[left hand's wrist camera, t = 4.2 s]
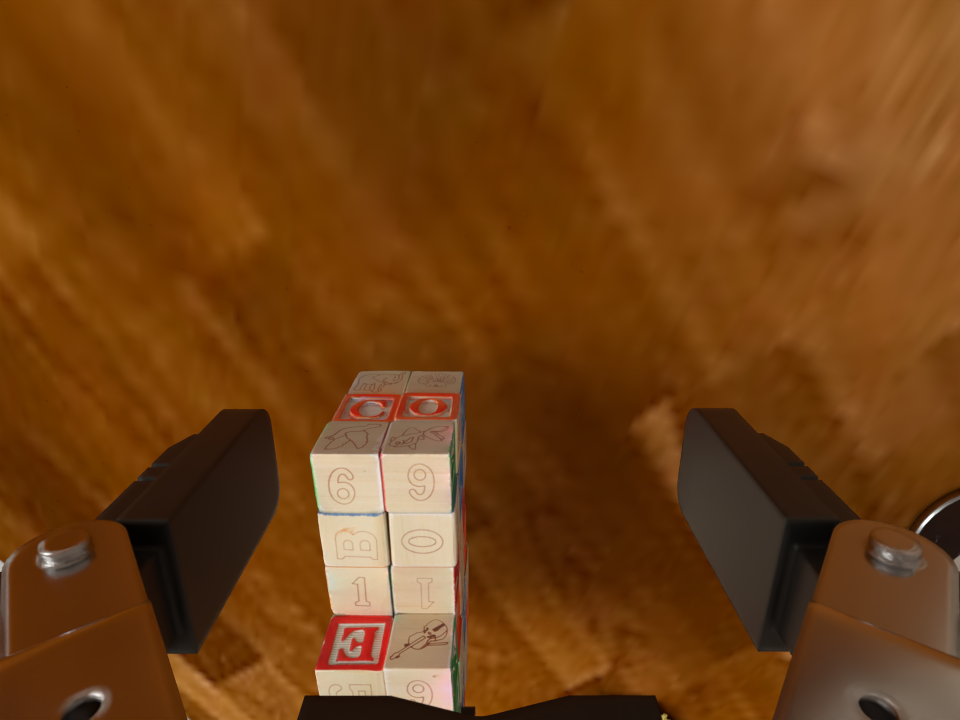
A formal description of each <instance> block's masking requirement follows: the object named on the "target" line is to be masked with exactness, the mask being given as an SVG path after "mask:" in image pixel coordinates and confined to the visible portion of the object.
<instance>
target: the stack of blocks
mask: <svg viewBox="0 0 960 720" xmlns="http://www.w3.org/2000/svg"><path fill="white" fill-rule="evenodd" d="M310 462H311V468H312V475H313V481H314V487H315V495H316V500H317V506H318V509H319V512H318V522H319V529H320V536H321V542H322V548H323V555H324V562H325V565H326V567H325V574H326V579H327V586H328V591H329V597H330V603H331V608H332V610H333V612H334V615H333V616H332V618H331V621H330V624H329V627H328V630H327V634H326V637H325V640H324V643H323V645H322V649H321V652H320V656H319V659H318V661H317V665H316V668H315V672H316V678H317V684H318V689H319V694H320V696H395V697H399V698H403V699H407V700H411V701H415V702H419V703H423V704H427V705H431V706H435V707H439V708H443V709H447V710H451V711H455V712H459V713H462V708H463V707H465V683H466V681H467V656H468V617H469V594H468V544H467V543H466V506H465V485H464V482H465V471H466V421H465V394H464V372H450V371H436V372H426V371H415V372H411V371H364V372H359V374H358V375H357V377H356V379H355V380H354V382H353V384H352V386H351V388H350V390H349V392H348V394H346V395H345V397H344V399H343V401H342V402H341V404H340V406H339V408H338V410H337V411H336V413H335V415H334V417H333V419H332V422H329V423H328V424H327V425H326V427H325V428H324V430H323V432H322V434H321V435H320V437H319V439H318V441H317V443H316V444H315V446H314V448H313V450H312V452H311V454H310Z"/></svg>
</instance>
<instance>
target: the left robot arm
mask: <svg viewBox="0 0 960 720" xmlns="http://www.w3.org/2000/svg"><path fill="white" fill-rule="evenodd" d="M677 489H678V500H679V505H680V508H681V511H682V513H683V515H684V517H685V519H686V521H687V523H688V525H689V526H690V528H691V530H692V532H693V534H694V535H695V537H696V539H697V541H698V543H699V545H700V546H701V548H702V550H703V552H704V554H705V556H706V557H707V559H708V561H709V563H710V565H711V567H712V568H713V570H714V572H715V574H716V576H717V578H718V579H719V581H720V583H721V585H722V587H723V588H724V590H725V592H726V594H727V596H728V598H729V599H730V601H731V603H732V605H733V607H734V609H735V610H736V612H737V614H738V616H739V618H740V620H741V621H742V623H743V625H744V627H745V629H746V631H747V632H748V634H749V636H750V638H751V640H752V641H753V643H754V645H755V647H756V649H757V651H789V652H790V653H791V655H792V658H791V662H790V665H789V668H788V671H787V675H786V678H785V681H784V684H783V687H782V691H781V694H780V697H779V700H778V704H777V707H776V710H775V713H774V717H773V720H960V571H958V568H957V566H956V564H955V562H954V561H953V559H952V558H951V557H950V556H949V555H948V554H947V553H946V552H945V551H944V550H943V549H941V548H940V547H939V546H937V545H936V544H935V543H933V542H931V541H930V540H928V539H926V538H925V537H923V536H921V535H919V534H917V533H914V532H912V531H910V530H907V529H905V528H902V527H899V526H896V525H892V524H889V523H885V522H880V521H873V520H861V519H860V518H859V517H858V516H857V515H856V514H855V513H854V512H853V511H852V510H851V509H850V508H849V507H848V506H847V505H846V504H845V503H844V502H843V501H842V500H841V499H840V498H839V497H838V496H837V495H836V494H835V493H834V492H833V491H832V490H831V489H830V488H829V487H828V486H827V485H826V484H825V483H824V482H823V481H822V480H818V476H817V475H816V474H815V473H814V472H813V471H812V470H811V469H810V468H809V467H808V466H804V462H803V461H801V460H800V459H799V458H798V457H797V456H796V455H795V454H794V453H793V452H792V451H791V450H790V449H789V448H788V447H787V446H785V445H783V444H781V443H779V442H778V441H776V440H774V439H772V438H770V437H768V436H767V435H765V434H758V433H757V432H756V431H755V430H754V429H753V428H752V427H751V426H750V425H749V424H748V423H747V422H746V421H745V419H744V418H743V417H742V416H741V415H740V414H739V413H738V412H737V411H736V410H735V409H732V408H693V409H691V410H690V411H689V413H688V415H687V418H686V423H685V431H684V438H683V445H682V453H681V460H680V467H679V474H678V484H677ZM279 490H280V486H279V476H278V468H277V461H276V454H275V447H274V440H273V433H272V426H271V420H270V416H269V414H268V412H267V411H266V410H264V409H224V410H222V411H221V412H220V413H219V414H218V415H217V416H216V417H215V418H214V419H213V420H212V421H211V422H210V423H209V424H208V425H207V426H206V427H205V428H204V429H203V430H202V431H201V432H200V433H199V434H193V435H191V436H190V437H188V438H186V439H184V440H182V441H180V442H179V443H177V444H175V445H173V446H171V447H169V448H168V449H167V450H166V451H165V452H164V453H163V454H162V455H161V456H160V457H159V458H158V459H157V460H156V461H155V462H154V463H153V464H152V467H151V468H147V469H146V470H145V471H144V472H143V473H142V474H141V475H140V476H139V477H138V481H134V482H133V483H132V484H131V485H130V486H129V487H128V488H127V489H126V490H125V491H124V492H123V493H122V494H121V495H120V496H119V497H118V498H117V499H116V500H115V501H114V502H113V503H112V504H111V505H110V506H109V507H107V508H106V509H105V510H104V511H103V512H102V513H101V514H100V515H99V516H98V517H97V518H96V519H95V520H87V521H80V522H75V523H71V524H68V525H64V526H61V527H58V528H55V529H53V530H50V531H48V532H46V533H43V534H41V535H39V536H37V537H35V538H34V539H32V540H30V541H29V542H27V543H25V544H24V545H23V546H21V547H20V548H19V549H17V550H16V551H15V552H14V553H13V554H12V555H11V556H10V557H9V558H8V559H7V561H6V562H5V564H4V566H3V568H2V572H0V720H187V717H186V713H185V710H184V707H183V704H182V700H181V697H180V694H179V691H178V687H177V684H176V681H175V678H174V675H173V671H172V668H171V665H170V662H169V658H168V655H167V654H197V653H198V652H199V650H200V648H201V646H202V644H203V643H204V641H205V639H206V637H207V635H208V634H209V632H210V630H211V628H212V626H213V625H214V623H215V621H216V619H217V617H218V616H219V614H220V612H221V610H222V608H223V607H224V605H225V603H226V601H227V599H228V598H229V596H230V594H231V592H232V590H233V588H234V587H235V585H236V583H237V581H238V579H239V578H240V576H241V574H242V572H243V570H244V569H245V567H246V565H247V563H248V561H249V560H250V558H251V556H252V554H253V552H254V551H255V549H256V547H257V545H258V543H259V542H260V540H261V538H262V536H263V534H264V533H265V531H266V529H267V527H268V525H269V523H270V522H271V520H272V518H273V516H274V514H275V512H276V509H277V505H278V500H279ZM297 720H663V719H662V716H661V713H660V709H659V706H658V703H657V700H656V697H655V696H565V697H561V698H557V699H553V700H549V701H545V702H541V703H537V704H533V705H529V706H525V707H521V708H517V709H513V710H509V711H505V712H501V713H497V714H493V715H488V716H472V715H467V714H463V713H459V712H455V711H451V710H447V709H443V708H439V707H435V706H431V705H427V704H423V703H419V702H415V701H411V700H407V699H403V698H399V697H395V696H305V697H304V700H303V703H302V706H301V709H300V713H299V716H298V719H297Z"/></svg>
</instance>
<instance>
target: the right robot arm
mask: <svg viewBox="0 0 960 720" xmlns="http://www.w3.org/2000/svg"><path fill="white" fill-rule="evenodd" d="M910 531H912V532H914V533H917V534H919V535H921V536H923V537H925V538H926V539H928V540H930V541H931V542H933V543H935V544H936V545H937V546H939V547H940V548H941V549H943V550H944V551H945V552H946V553H947V554H948V555H949V556H950V557H951V558H952V559H953V561H954V562H955V564H956V566H957V568H958V571H960V490H957V491H954V492H952V493H950V494H948V495H946V496H944V497H942V498H941V499H939V500H937V501H936V502H934V503H933V504H932V505H930V506H929V507H928V508H927V509H926V510H925V511H924V512H923V513H922V514H921V515H920V516H919V517H918V518H917V519H916V521H915V522H914V523H913V525H912V527H911V528H910ZM462 713H463V714H467V715H472V716H475V707H463V708H462Z"/></svg>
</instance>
